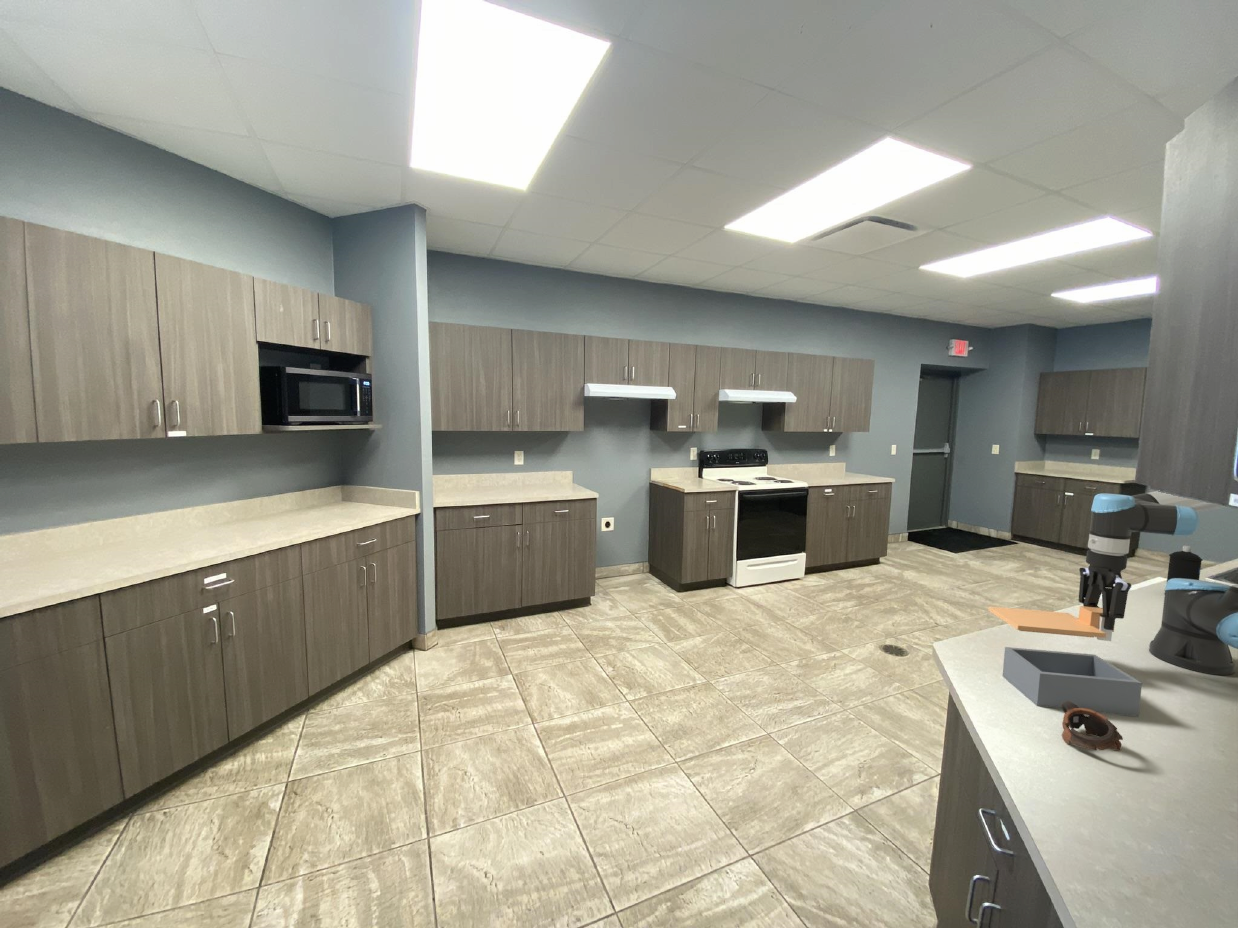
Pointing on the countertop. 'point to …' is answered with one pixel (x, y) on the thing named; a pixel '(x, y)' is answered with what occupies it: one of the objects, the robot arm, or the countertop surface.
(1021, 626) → the lid
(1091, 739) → the brown jagged ring
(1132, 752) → the countertop surface
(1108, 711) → the tub
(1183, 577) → the aerosol can
